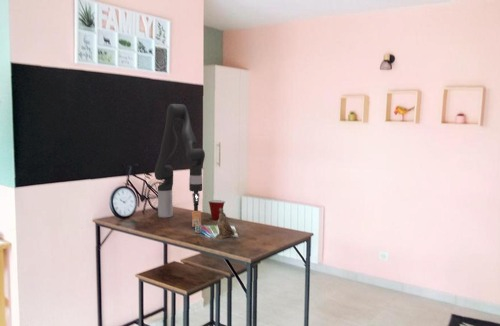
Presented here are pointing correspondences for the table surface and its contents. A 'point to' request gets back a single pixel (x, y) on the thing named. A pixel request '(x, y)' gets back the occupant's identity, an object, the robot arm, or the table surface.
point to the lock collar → (196, 216)
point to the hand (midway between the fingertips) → (195, 211)
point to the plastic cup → (215, 208)
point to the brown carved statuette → (224, 226)
